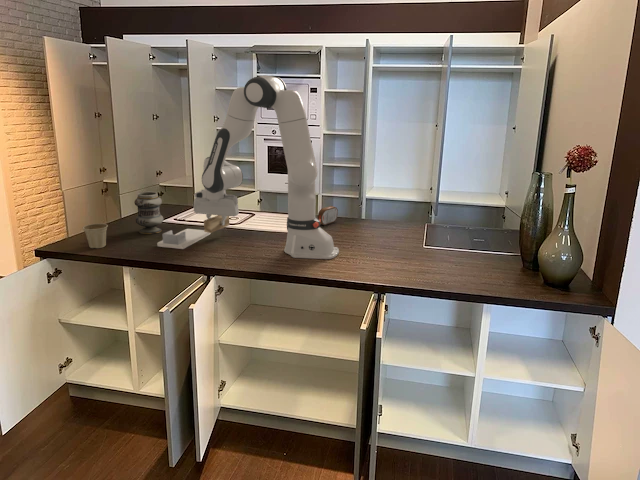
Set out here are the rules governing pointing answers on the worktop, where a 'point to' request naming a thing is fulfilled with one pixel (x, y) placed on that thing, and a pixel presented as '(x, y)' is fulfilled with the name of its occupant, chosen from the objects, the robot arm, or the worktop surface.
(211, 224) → the rail
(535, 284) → the worktop surface
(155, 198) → the apothecary jar
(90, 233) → the flower pot
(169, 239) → the bracket
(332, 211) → the tin
